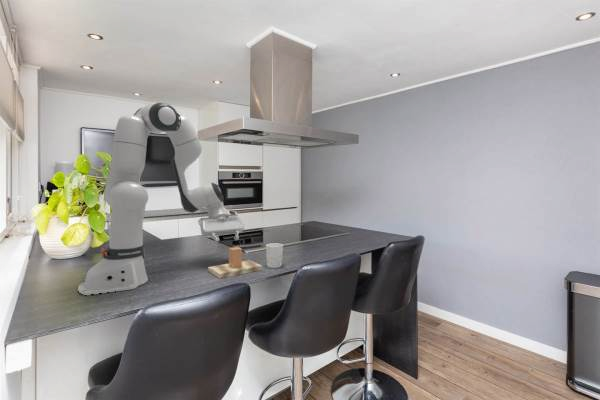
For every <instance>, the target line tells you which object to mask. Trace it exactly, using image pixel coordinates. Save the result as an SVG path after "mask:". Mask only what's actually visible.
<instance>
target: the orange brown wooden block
mask: <svg viewBox="0 0 600 400" xmlns="http://www.w3.org/2000/svg"><path fill="white" fill-rule="evenodd" d="M242 261H243V248H241V247H238V246H235V247H234V246H233V247H229V248H228V263H229V266H230V267H232V268H237V267H242Z"/></svg>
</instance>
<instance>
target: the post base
mask: <svg viewBox="0 0 600 400" xmlns="http://www.w3.org/2000/svg"><path fill="white" fill-rule="evenodd" d="M258 271H263V265H261V264H259V263H257V262H255V261H253V260H250V259H246V260H242V267H237V268H232V267H230V266H229V262H228V263H225V264H219V265H213V266H208V267H207V272H208V273H210V275H213V276H214V277H216V278H218V279H220V280H221V279H225V278H230V277H236V276H240V275H244V274H249V273H254V272H258Z"/></svg>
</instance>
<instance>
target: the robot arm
mask: <svg viewBox="0 0 600 400" xmlns="http://www.w3.org/2000/svg"><path fill="white" fill-rule="evenodd" d="M160 133H165V135H167V137H168V138H169V139H170V141H171V143H172V144H171V145H172V147H173V148H174V157H173V158H172V160H171V161H172V165H171V166H172V170H173V174H174V177H175V181H176V184H177V185H176V186H177V188H178V189H177V190H178V192H179V196H180V205H181V207H182V209H183V210H184V211H186V212H187V213H191V214H192V213H193V214H194V213H195V212H197V211H199V210H201V209H203V208H205V210H206V211H207V216H208V217H200V218H199V219H198V225H199V227H200V231H201V232H200V233H201V235H202V237H210V238H212V240H214V242H215V244H216V243H220V241H221V240H220V237H218V236H221V235H230V234H234V235H235V236H234V237H233V239H234V241H238V240H239V238H240V237H239V234H241V233H242V232H243V231H244V229H245V225H244V223H243V220H242V219H241V217H239V216H238V212H237V211H234V210H229V209H227V208H226V206H224V199H225V197H224V195H223V193H222V190H221V187H220V186H219V185H218V184H216V183H215V182H209V183H206V184H203V185H201V186H199V187H195V188H193V189H189V187H188V184H187V180H186V179H187V178H186V176H185V175H186V174H185V172H186V170H187V169H188V168H189V167H190V166H191V165H192V164H194V162H196V161H197V159H199V157H200V155H201V153H202V150H203V149H202V144H201V141H200V138H199V136H198V133H197V132H196V130H195V128H194V126H193V125H192V123H191V121H190V119H189V118H188V117H187V116H185V115H180V114H179V113H178V111H177V110H176V109H175V108H174V107H173V106H172V105H170V104H168V103H166V102H156V103H151V104H147V105H145V106H144V107H140V108H139V109H137V110H136V112H135V113H134V114H124V115H122V116H121V117H119V119H118V121H117V123H116V127H115V131H114V135H113V140H112V141H113V142H112V143H113V144H112V153H111V161H110V167H109V171H108V174H107V178H106V182H105V186H104V187H105V188H104V193H103V197H104V200H105V202H106V204H107V205H108V206H110V207H111V217H110V223H109V226H108V237H109V239H108V241H109V244H108V245H109V247H108V248H106V247H102V248H101V249H100V253H101V254H102V256H103V257H102V259H101V260H100V261H98V262H97V263H96V264H94V265H93V266H92V267H90V268H89V269H88V271H87V272H86V275H85V281H84V282H82V283H80V284H79V285H78V287H77V292H78V291H79V293H81V294H84V295H83V296H85V295H87V296H92V295H91V294H94V295H100V294H99V293H102V294H108V293H107V292H109V293H115V291H116V292H121V291H123V292H124V291H129V290H134V289H136V288H138V287H139V286H141V285H143V284H145V283H147V282H148V281H149V278H148V275H147V271H146V266H145V260H144V259H145V255H146V253H145V245H144V243H143V241H144V238H143V237H144V235H143V234H144V233H143V232H144V231H143V230H144V229H143V225H144V217H145V214H146V213H145V211H146V205H147V203H148V201H149V194H148V192H147V189H146V188H145V187H144V186H143V185H141V183H140V180H141V177H142V174H143V171H144V169H145V168H146V167H145V166H146V158H147V157H146V156H147V145H148V138H149V135H150V134H160ZM79 293H78V294H79ZM81 294H80V295H81Z"/></svg>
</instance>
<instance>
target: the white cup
mask: <svg viewBox="0 0 600 400" xmlns="http://www.w3.org/2000/svg"><path fill="white" fill-rule="evenodd" d="M265 249H266V250H265V252H266V254H265V255H266V265H267V268H271V269H277V268H281V267H282V266H283V265H282V263H283V254H284V253H283V252H284V244H283V243H277V242H276V243H274V242H272V243H271V242H270V243H266V245H265Z"/></svg>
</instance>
